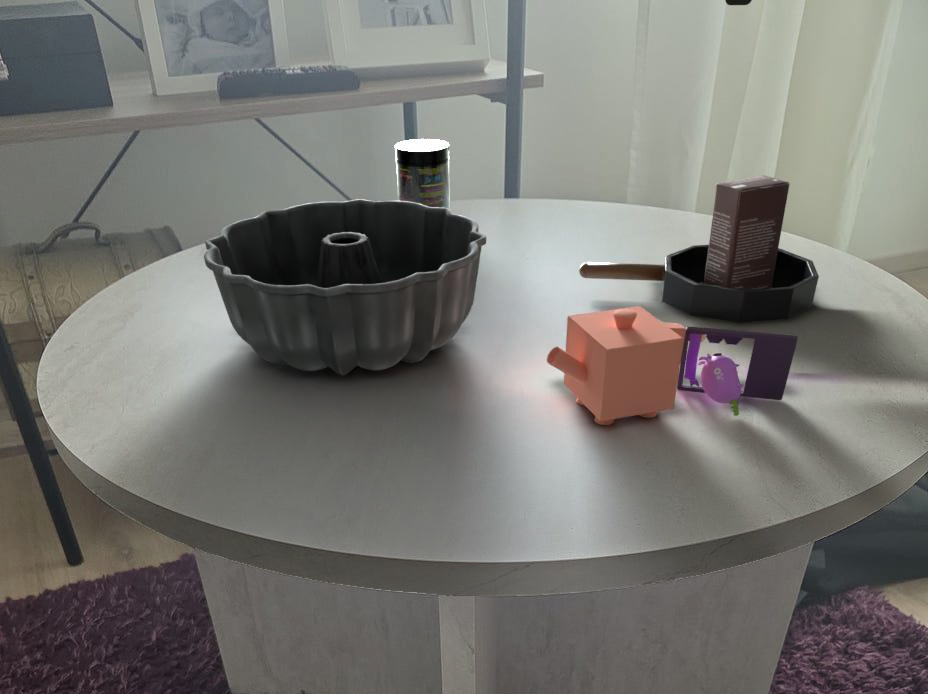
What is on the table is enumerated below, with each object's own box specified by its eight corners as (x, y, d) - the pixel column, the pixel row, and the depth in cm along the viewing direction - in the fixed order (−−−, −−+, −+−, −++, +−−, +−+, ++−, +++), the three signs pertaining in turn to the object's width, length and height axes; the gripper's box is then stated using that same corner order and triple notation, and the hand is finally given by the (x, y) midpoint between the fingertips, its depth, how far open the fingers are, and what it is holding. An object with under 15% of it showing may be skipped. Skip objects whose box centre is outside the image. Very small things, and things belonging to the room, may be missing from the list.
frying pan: (798, 282, 102) (806, 244, 100) (816, 335, 90) (826, 294, 88) (581, 274, 106) (584, 238, 103) (572, 324, 94) (574, 285, 91)
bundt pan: (412, 418, 78) (406, 300, 72) (166, 371, 87) (141, 263, 81) (523, 314, 97) (526, 213, 90) (310, 283, 105) (299, 190, 99)
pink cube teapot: (528, 400, 81) (531, 306, 75) (652, 380, 83) (663, 288, 78) (563, 438, 75) (568, 340, 70) (694, 416, 77) (709, 319, 72)
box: (742, 293, 100) (764, 173, 92) (769, 306, 97) (794, 183, 89) (696, 302, 98) (715, 180, 91) (722, 315, 95) (743, 190, 87)
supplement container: (461, 232, 120) (460, 144, 113) (424, 244, 116) (421, 153, 109) (425, 223, 123) (422, 136, 117) (388, 234, 120) (383, 145, 113)
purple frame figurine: (799, 329, 74) (686, 320, 76) (794, 373, 72) (678, 363, 74) (782, 391, 80) (678, 381, 82) (777, 434, 77) (670, 423, 80)
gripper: (834, -270, 64) (785, 8, 75) (817, -249, 75) (777, -8, 85) (724, -264, 66) (691, 9, 76) (723, -244, 76) (694, -7, 87)
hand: (736, 0), depth 81 cm, fingers open, 8 cm apart
